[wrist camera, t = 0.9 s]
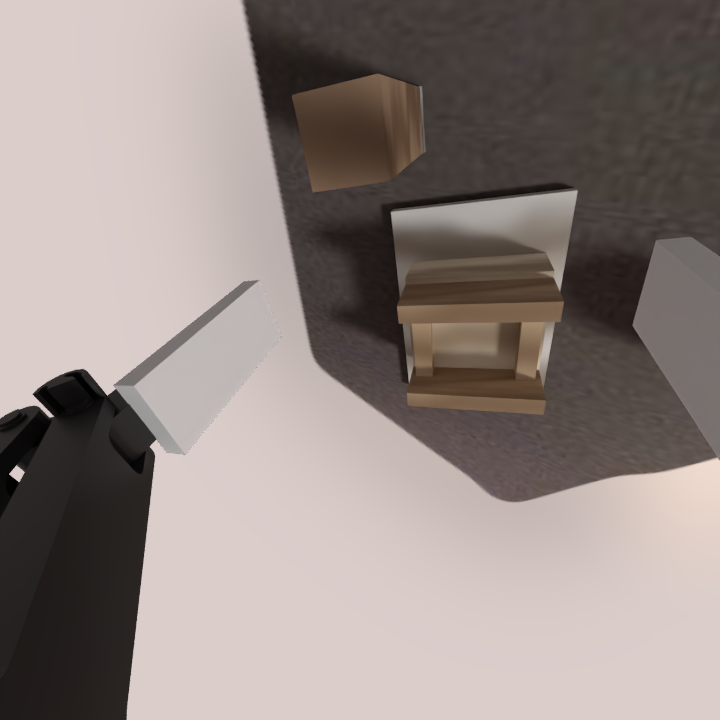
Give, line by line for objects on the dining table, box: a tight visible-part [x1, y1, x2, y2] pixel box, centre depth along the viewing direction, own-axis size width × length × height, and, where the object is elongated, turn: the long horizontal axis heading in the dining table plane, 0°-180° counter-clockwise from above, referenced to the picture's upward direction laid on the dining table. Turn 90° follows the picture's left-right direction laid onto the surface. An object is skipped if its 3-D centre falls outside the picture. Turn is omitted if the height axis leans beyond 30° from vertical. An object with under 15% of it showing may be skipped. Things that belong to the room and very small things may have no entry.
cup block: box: [391, 188, 578, 414], centre depth 30 cm, size 20×14×9 cm
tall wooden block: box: [292, 74, 425, 192], centre depth 21 cm, size 4×4×14 cm
